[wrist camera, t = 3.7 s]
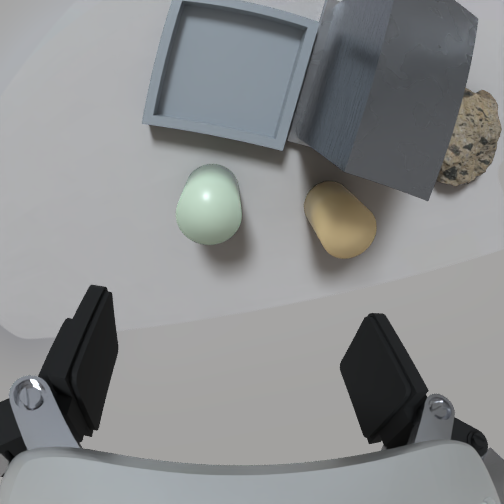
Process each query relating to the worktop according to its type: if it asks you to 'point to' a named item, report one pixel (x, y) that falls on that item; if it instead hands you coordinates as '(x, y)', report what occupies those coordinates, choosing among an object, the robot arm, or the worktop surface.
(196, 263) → the worktop surface
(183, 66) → the tray
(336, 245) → the tan rounded capsule
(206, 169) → the mint green rounded cylinder
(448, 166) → the rock
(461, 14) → the panel
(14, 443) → the robot arm
